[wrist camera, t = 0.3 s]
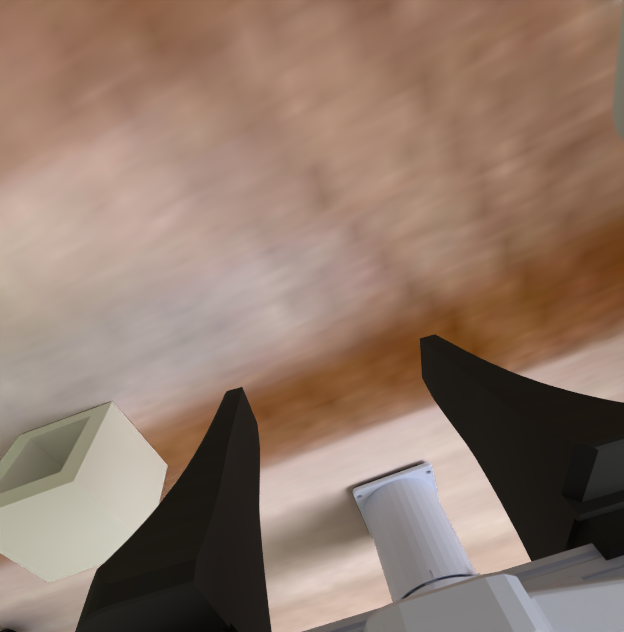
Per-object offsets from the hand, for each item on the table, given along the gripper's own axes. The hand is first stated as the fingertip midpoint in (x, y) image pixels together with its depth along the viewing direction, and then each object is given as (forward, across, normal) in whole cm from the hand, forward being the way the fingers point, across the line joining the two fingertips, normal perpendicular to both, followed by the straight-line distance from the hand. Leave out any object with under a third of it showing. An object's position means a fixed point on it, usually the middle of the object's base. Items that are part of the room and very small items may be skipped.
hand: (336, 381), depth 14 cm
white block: (+10, +18, +9) cm, 23 cm away
